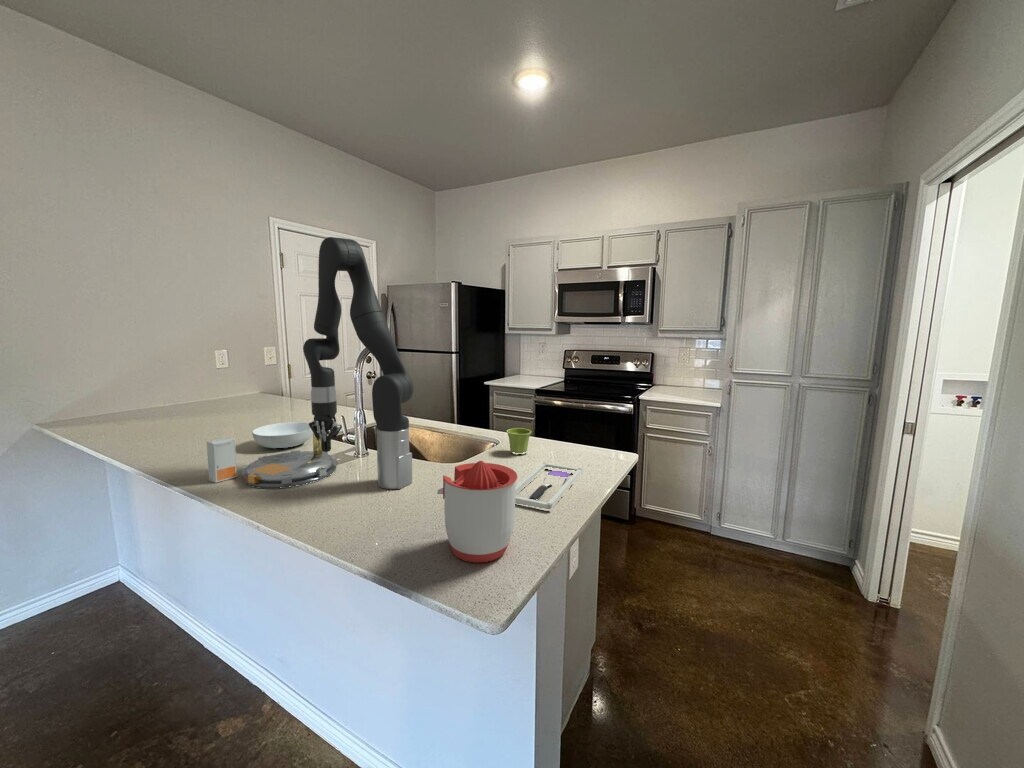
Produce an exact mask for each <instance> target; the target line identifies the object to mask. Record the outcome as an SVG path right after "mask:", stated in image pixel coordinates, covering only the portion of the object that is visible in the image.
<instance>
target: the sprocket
mask: <svg viewBox="0 0 1024 768" xmlns="http://www.w3.org/2000/svg"><path fill="white" fill-rule="evenodd" d="M312 446H313V447H312V448H313V449H312V450H313V451H308V450H307V451H303V450H302V451H301V450H290V451H289V452H283V453H282V452H281V453H277V454H272V455H263V456H259V457H258V459H256V460H254V461H252V462H251V463H249V464H247V465H242V466H241V470H240V471H241V476H243V475H246V474H247V477H248V482H250V483H254V484H255V483H258V482H262V483H282V484H291V483H292V482H294V481H300V480H305V479H309V478H312V477H316V476H317V477H321V476H323V475H326V472H327V471H328V470H330V469H331V468H332V466H336V467H337V466H338V457H332V456H331V454H328V452H329V451H328V452H323V451H322V448H321V441H320V439H319V438H316V437H315V435H314V433H313V434H312Z"/></svg>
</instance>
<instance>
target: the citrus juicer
mask: <svg viewBox="0 0 1024 768" xmlns="http://www.w3.org/2000/svg"><path fill="white" fill-rule="evenodd" d="M453 474H454V475H453V476H454V480H452V477H450V476H448V475H447V476H446V475H445V474H444V475H443V476H442V481H443V482H442V483H443V484H442V485H443V486H442V487H441V488H439V489H438V490H437V492H436V494H437V495H442V499H443V500H444V512H443V513H444V524H445V531H446V535H447V540H448V543H449V546H450V549H451V550H452V552H453V554H454V556H456V557H457V558H458V559H461V560H463V561H465V562H471V563H489V562H488V561H490V562H492V561H494V560H497V559H498V558H501V557H502V556H503V555H504V554H505V553H506V551H507V548H508V546H509V544H510V541H511V537H512V535H513V531H514V526H515V517H516V516H515V515H516V505H515V494H516V485H517V480H518V474H517V473H516V471H515V470H514V469H513V468H511V467H508V466H506V465H503V464H497V463H489V462H484V461H483V460H479V461H477V462H470V463H464V464H459V465H456V466H454V473H453Z"/></svg>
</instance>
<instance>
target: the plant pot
mask: <svg viewBox="0 0 1024 768" xmlns="http://www.w3.org/2000/svg"><path fill="white" fill-rule="evenodd" d="M506 433H507V436H508V441H509V449H510V451H511V452H515V453H523V452H526V451H527V452H528V447H529V445H528V444H529V442H530V441H529V440H530V437H531V434H532V430H530V429H528V428H523V427H514V428H510V429H507V430H506ZM511 452H510V453H511Z"/></svg>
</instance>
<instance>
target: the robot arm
mask: <svg viewBox="0 0 1024 768" xmlns="http://www.w3.org/2000/svg"><path fill="white" fill-rule="evenodd" d="M338 272H347V273H348V276H349V279H350V282H351V284H352V291H353V292H352V297H351V298H352V299H351V302H350V303H351V304H350V309H349V315H350V321H351V323H352V326H353V329H354V331H355V333H356V336H357V338H358V339H359V342H360V343H361V344H362V345H363V346H364V347H365V348H366V350H367V351H369V353H370V354H371V355H372V356H373V357H374V359H376V361H377V363H378V365H379V366H380V369H381V372H382V374H383V375H381V376H378V377H377V378H376V379H375V380H374V382H373V384H372V388H371V399H372V400H371V401H372V413H373V414H372V415H373V419H374V421H375V423H376V454H377V455H376V458H377V459H376V460H377V461H376V462H377V469H376V470H377V486H378V487H379V488H382V489H387V490H388V489H389V490H392V489H396V490H401V489H402V488H405V487H407V486H408V485H410V484H413V453H412V452H411V451H410V420H409V417H407V416H405V415H403V414H402V404H403V403H406V402H408V401H410V400H411V399H412V397H413V395H414V384H413V381H412V379H411V376H410V374H409V371H407V368H406V366H405V364H404V362H403V360H402V359H401V357H400V354H399V351H398V350H397V346H396V343H395V341H394V339H393V337H392V334H391V331H390V328H389V325H388V322H387V319H386V317H385V314H384V311H383V309H382V306H381V305H380V302H379V300H378V297H377V294H376V293H377V292H376V291H375V287H374V284H373V282H372V279H371V275H370V271H369V267H368V264H367V260H366V256H365V253H364V250H363V248H362V246H361V245H360V243H358V241H356V240H354V239H351V238H350V239H349V238H343V237H335V236H334V237H333V236H328V237H325V238H324V239H323V240H322V241H321V244H320V245H319V252H318V273H317V274H318V277H317V278H318V294H317V295H318V297H317V298H318V299H317V307H316V313H315V317H314V322H313V329H314V331H315V332H316V333H317V334H319V335H322V336H325V338H320V337H319V338H315V337H314V338H308V339H307V340H305V342H304V343H303V346H302V350H303V351H302V352H303V354H304V357H305V360H306V363H307V366H308V369H309V373H310V383H311V387H310V388H311V389H310V403H311V405H310V406H311V414H312V416H314V417H313V420H312V421H311V422H308V423H309V426H310V428H311V430H312V431H313V433H314V435H315V437H316V438H319V439H320V441H321V448H322V451H323V452H331V450H332V440H334V439H336V438H337V436H338V434H339V433H340V431H341V430H342V428H343V425H342V424H338V423H337V419H336V414H337V413H338V405H337V390H336V382H335V380H336V379H335V377H336V376H335V371H334V368H332V367H326V366H322V364H321V362H320V361H331V360H332V361H333V360H335V359H336V358H338V356H339V355H340V348H341V347H340V343H339V340H340V339H339V326H340V323H341V317H342V304H341V301H340V298H339V295H338V293H337V289H336V278H337V274H338Z"/></svg>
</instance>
